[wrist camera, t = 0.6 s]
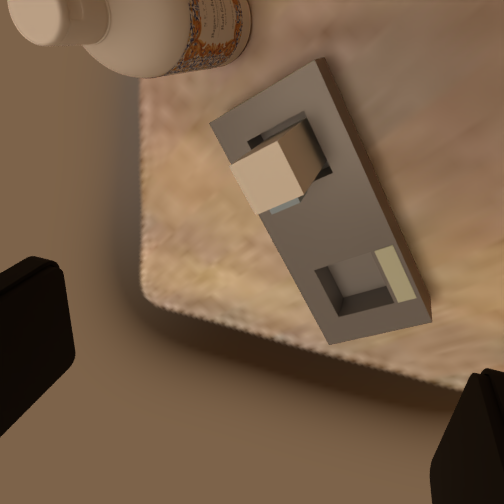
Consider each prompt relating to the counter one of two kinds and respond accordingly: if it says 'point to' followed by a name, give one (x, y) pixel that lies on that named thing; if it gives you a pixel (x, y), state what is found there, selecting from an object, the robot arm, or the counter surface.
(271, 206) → the plug
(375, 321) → the socket block
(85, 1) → the bath foam
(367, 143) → the counter surface
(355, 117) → the counter surface
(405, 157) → the counter surface
